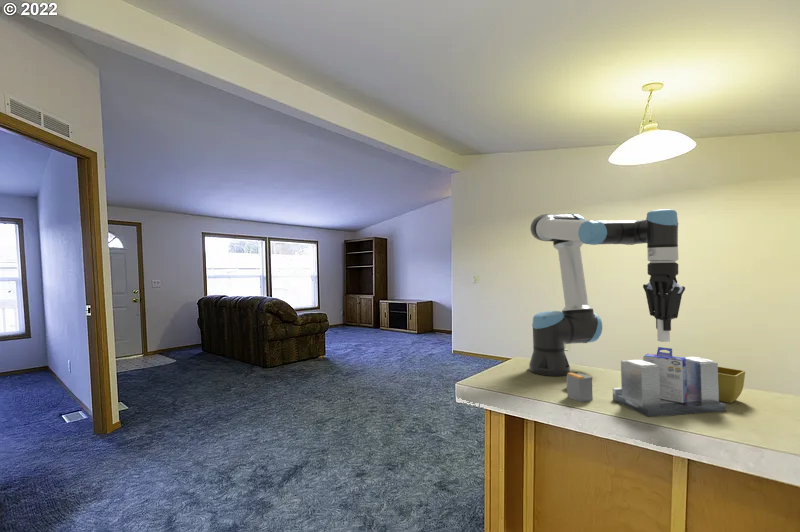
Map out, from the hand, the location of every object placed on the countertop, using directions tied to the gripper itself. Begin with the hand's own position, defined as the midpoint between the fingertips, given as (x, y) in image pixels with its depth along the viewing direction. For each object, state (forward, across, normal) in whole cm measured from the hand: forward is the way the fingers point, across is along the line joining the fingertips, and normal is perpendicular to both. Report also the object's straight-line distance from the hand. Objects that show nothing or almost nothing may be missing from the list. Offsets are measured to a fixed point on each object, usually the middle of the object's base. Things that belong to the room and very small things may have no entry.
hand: (663, 341), depth 111 cm
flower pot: (+19, 0, +20) cm, 27 cm away
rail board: (+19, +1, 0) cm, 19 cm away
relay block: (+19, -9, -21) cm, 30 cm away
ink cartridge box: (+17, +1, 0) cm, 17 cm away
